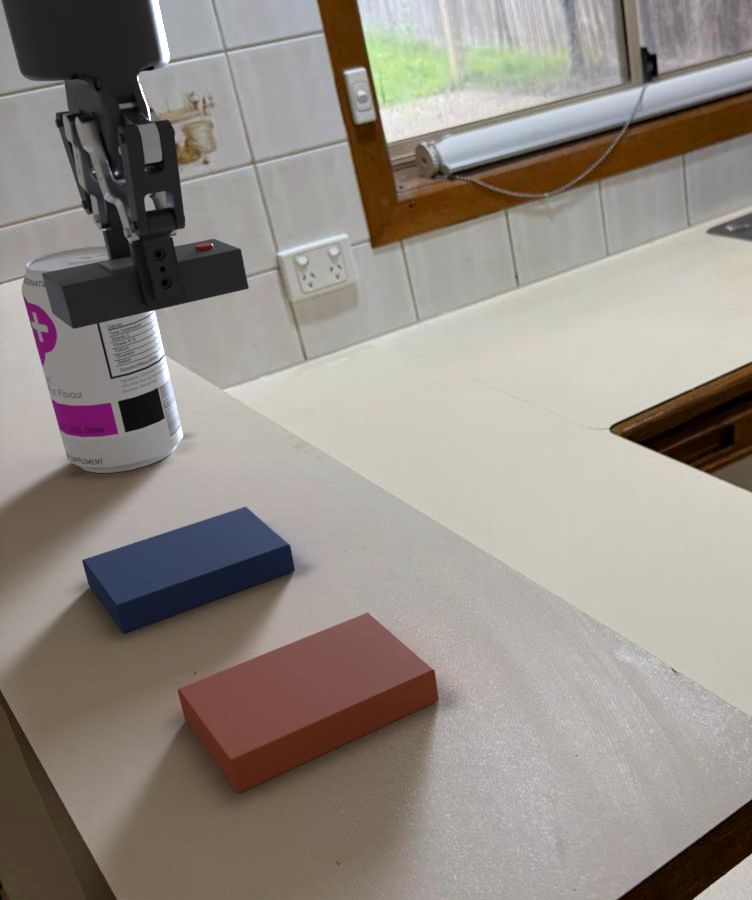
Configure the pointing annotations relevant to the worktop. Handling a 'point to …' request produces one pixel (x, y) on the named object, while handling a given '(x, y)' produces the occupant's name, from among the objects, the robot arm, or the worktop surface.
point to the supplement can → (103, 377)
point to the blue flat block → (187, 568)
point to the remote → (117, 291)
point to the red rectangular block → (306, 699)
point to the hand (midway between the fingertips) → (151, 295)
